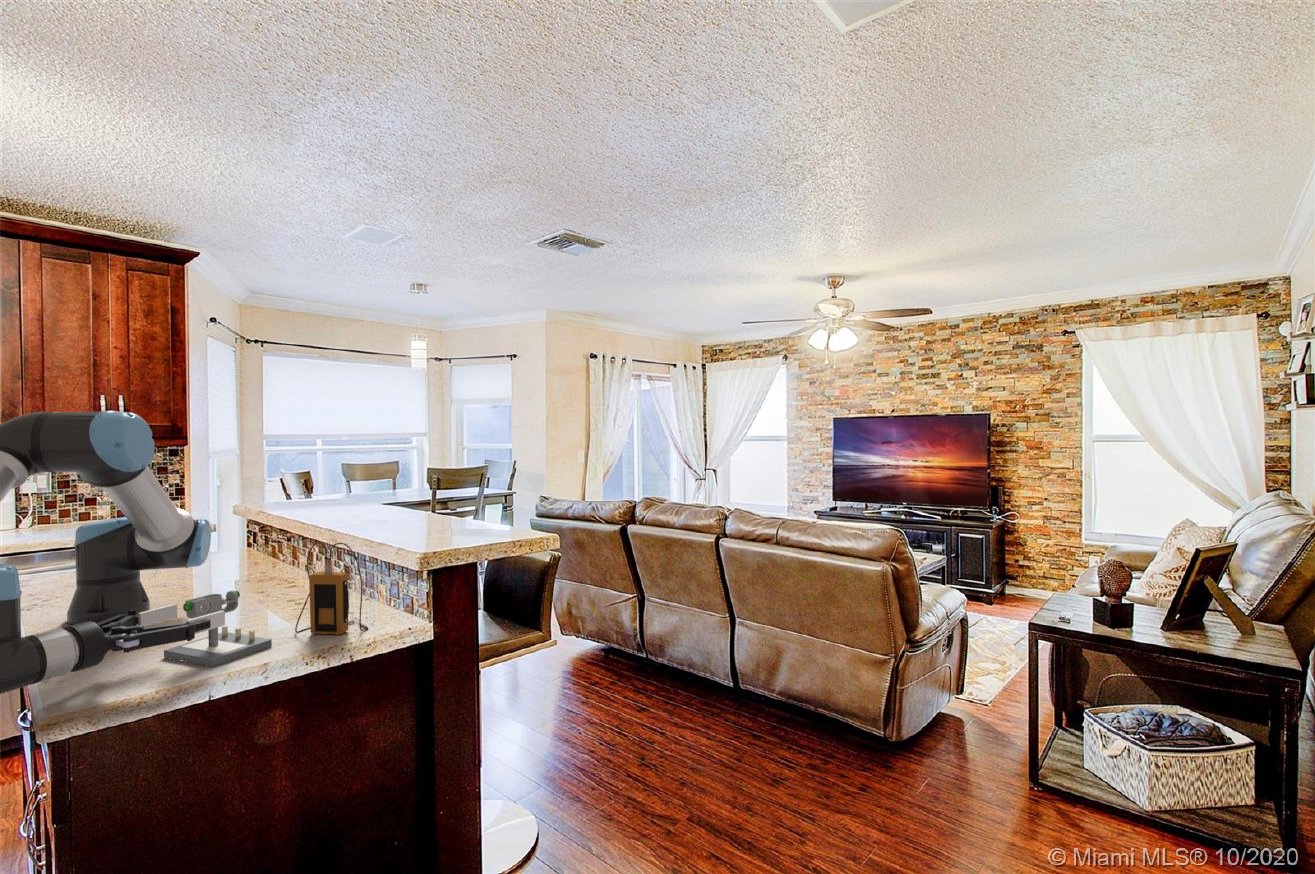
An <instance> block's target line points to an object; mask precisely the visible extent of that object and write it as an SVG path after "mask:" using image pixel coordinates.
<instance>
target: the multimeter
mask: <svg viewBox="0 0 1315 874" xmlns="http://www.w3.org/2000/svg"><path fill="white" fill-rule="evenodd" d="M317 544H319V545H321V546H322V547H323V549H324V553H325V554H324V555H325V557H324V559H325V560H324V562H325V563H324V564H325V565H324V571H317V572H315V573H314V572H313V573H312V574H310V571H309V570H310V569H309V556H310V553H311V551H312V549H313V548H314V547H315V545H317ZM336 545H344V546H346V547H347V548H348V549H349V550H350V552H351V554H352V556H353V557H354V560H355V561H356V562H355V563H356V566H357V569H358V573H359V578H360V579H359V580H360V604H359V620H352V621H349V611H350V599H349V598H350V595H349V593H350V592H349V577H348V572H345V571H342V572H340V571H333V566H332V564H333V562H332V549H333V548H334V547H335V546H336ZM327 554H328V553H327V549H326V546H325V545H324V544H323V543H322V542H320V541H316V542H314V543H313V545H312V546H311V547H310V549H309V551H308V554H307V556H306V571H307V572H306V573H307V576H308V580H309V585H308V586H309V593H308V596H307V597H306V599H305V602H304V604H303V607H302V609H301V610H300V614H299V616H298V619H297V621H296V625H295V629H294V631H295V633H301V632H303V631H306V630H307V631H308V630H310V633H311V634H312V635H318V634H319V635H321V634H322V635H336V636H339V635H342V634H344V633H346V632H348V631H349V625H350V624H355V623H357V624H358V625H359V629H360V631H361V632H365V631H368V630H369V627H368V626H367V625H365V624H364V623H362V622H361V621H363V619H361V618H362V617H361V616H362V605H363V604H362V603H363V579H362V574H361V573H362V572H361V569H360V565H359V563H358V560H357V557H356V555H355V552H354V551H353V549H352V548H351V546H349V545H348V544H346V543H344V542H337V543H334V544H332V545H331V547H330V550H329V566H328V560H327V559H328V558H327V557H328V555H327ZM308 600H309V617H310V621H309V622H310V626H309V627H307V628H304V629H301V630H299V631H297V628H298V624H299V621H300V620H301V619H300V618H301V616H302V614H303V612H304V610H305V607H306V604H307V603H308ZM362 628H365V629H362Z"/></svg>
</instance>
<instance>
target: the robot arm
mask: <svg viewBox="0 0 1315 874" xmlns="http://www.w3.org/2000/svg"><path fill="white" fill-rule="evenodd" d="M152 437H153V431H152V429H151V428H150V426H149V424H148V423H147V421H146V420H145V419H144V418H143V417H141V416H139V415H138V414H136V413H133V412H129V411H127V412H124V411H123V412H122V411H117V410H104V411H38V412H30V413H25V414H22V415H20V416H16V417H13V418H11V419H9V420H7V421H4V422H2V423H0V503H1V502H2V501H3V500H4V498H5V497H6V496H7V495H8V493H10V490H12V489H16V488H19V487H21V486H23V484H24V483H26V482H27V480H28V479H29V477H31V476H34V475H36V474H37V475H38V474H44V473H49V474H51V473H53V474H54V473H77V475H79V477H80V478H81V479H82V480H83V481H84V482H85V483H86V484H88V485H89V486H92V487H95V488H101V489H102V490H103V491H104V492H105V493H106V495H107V496H108V497H109V499H110V500H111V501H112V502H113V503H114V504H115V506H116V507H117V508H118V509H119V510H120V511H121V513H122V514H123V515H124V516H122V517H121V516H120V517H116V518H109V519H104V520H100V521H99V520H98V521H94V522H90V523H89V522H88V523H85V524H81V526H78V527H77V529H76V530H75V538H74V544H73V546H74V549H75V553H74V554H75V555H74V556H75V557H74V558H75V578H76V579H75V580H76V582H75V583H76V588H75V590H74V593H73V596H72V599H71V601H70V603H69V607H68V609H67V612H66V623H67V624H70V625H68V626H64V627H63V628H61V627H58V628H54V629H50V630H46V631H42V632H38V633H34V634H31V635H25V636H23V637H22V625H21V624H22V623H21V621H22V620H21V619H22V618H21V617H22V613H21V611H22V609H21V608H22V607H21V602H22V601H21V596H22V593H23V592H22V589H21V584H20V574H19V570H18V568H17V567H16V566H15V565H13V564H10V563H0V695H1V694H5V693H9V692H12V691H15V690H18V689H21V688H24V687H27V686H28V687H29V686H30V685H34V684H35V685H36V684H37V683H41V685H42V684H43V685H45V684H49V682H50V680H51V679H53V678H58V677H61V676H65V675H68V674H69V673H77V672H78V671H82V670H86V669H89V668H92V667H96V666H98V665H100V663H102V661H104V658H105V656H106V655H107V653H108V652H109V651H111V652H119V651H120V652H121V651H123V653H129V652H133V651H138V650H140V649H147V648H152V647H157V646H163V645H168V644H173V643H177V642H178V643H179V642H183V641H187V642H192V640H194V639H196V634H201V633H203V632H206V631H208V630H210V629H214V628H217V627H218V628H219V627H223V626H226V613H225V611H219V612H215V613H211V614H208V615H204V616H200V617H197V618H193V619H192V618H189V619H187V620H186V621H185V622H178V623H170V624H163V625H156V624H160V623H163V622H167V621H172V620H176V619H178V604H177V603H174V604H169V605H165V606H162V607H158V608H153V609H151V603H150V602H151V601H150V599H149V597H148V594H147V592H146V590H145V588H144V586H143V583H142V580H141V571H149V570H164V569H165V570H167V569H180V568H181V569H183V568H185V569H189V568H195V567H200V566H201V565H203V564H204V563H205V562H206V561H207V559H208V557H209V553H210V548H211V542H212V541H211V540H212V527H211V523H210V521H209V520H208V519H206V518H198V519H194V518H193V517H192V515H191V514H190V513H189V512H187V511H186V510H184V509H181V508H178V507H176V505H175V504H174V502H173V501H172V500H171V499H172V498H170V496H169V495H168V494H167V492H166V491H165V489H164V488H163V486H162V484H161V483H160V482H159V480H158V479H157V477H156V476H155V474H154V473H153V471H152V470H151V469H150V467H149V465H150V464H151V463H152V461H153V458H154V456H155V440H154V438H152ZM153 625H155V626H153Z"/></svg>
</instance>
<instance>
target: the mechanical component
mask: <svg viewBox="0 0 1315 874" xmlns="http://www.w3.org/2000/svg"><path fill="white" fill-rule="evenodd" d="M240 595H241V593H240V591H239V590H230V591H226V594H225V599H224V598H223V597H222V596H223V595H222V594H221V593H212V594H211V593H210V594H206V595H204V596H199V597H196V598H191V599H188V600H184V602H185V603H183V605H182V607H183V608H182V609H183V610H184V612H186V617H187V618H189V619H193V618H197V617H200V616H204V615H208V614H211V613H215V612H219V611H225V614H227V613H231V612H234V611H236V610H237V608H238V606H239V598H240ZM223 605H225V607H223ZM207 631H208V632H207V633H208V634H207V635H208V637H209V646H212V647H216V646H218V634H219V627H217V628H214V629H210V630H207Z"/></svg>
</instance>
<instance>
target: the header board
mask: <svg viewBox="0 0 1315 874" xmlns="http://www.w3.org/2000/svg"><path fill="white" fill-rule="evenodd" d="M255 634H256V631H255V629H252V630H249V631H248V634H242V628H241V627H237V628H235V629H234V632H229V625H224V626H221V632H218V646H216V647H212V646H209V636H206V637H203V638H201V639H196V640H193V641H189V642H187V643H183V644H180V645H177V646H174V647H170V648H167V649H164V650H163V658H164V657H165V658H164V659H167V658H171V659H170V660H172V659H175V660H174V661H177V660H183V661H187V662H186V663H188V662H191V663H190V664H193V663H195V664H194V665H198V664H200V666H203V665H207V666H206V667H209V666H210V668H214V667H218V666H220V665H223V664H226V663H229V662H231V661H234V660H237V659H241V658H243V657H247V656H249V655H251V654H252V655H253V654H255V653H257V651H258V652H260V651H264V650H266V649H270V648H271V647H272V643H273V642H272V638H266V637H260V636H259V637H258V636H256V635H255ZM254 652H255V653H254ZM242 656H243V657H242ZM240 657H241V658H240Z"/></svg>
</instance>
